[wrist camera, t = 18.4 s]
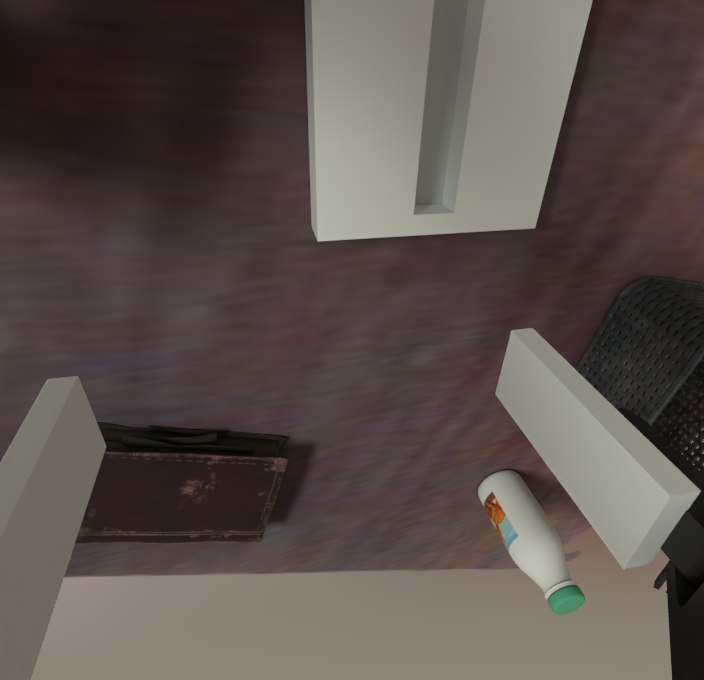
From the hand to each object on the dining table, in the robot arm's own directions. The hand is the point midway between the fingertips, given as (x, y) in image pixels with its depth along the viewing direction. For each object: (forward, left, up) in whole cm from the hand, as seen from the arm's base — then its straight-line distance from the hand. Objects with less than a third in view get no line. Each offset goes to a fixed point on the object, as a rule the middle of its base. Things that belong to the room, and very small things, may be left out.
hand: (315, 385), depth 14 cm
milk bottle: (+34, -52, -32) cm, 70 cm away
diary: (-15, -39, -32) cm, 52 cm away
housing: (+15, +8, -32) cm, 36 cm away
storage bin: (+50, -30, -32) cm, 67 cm away
